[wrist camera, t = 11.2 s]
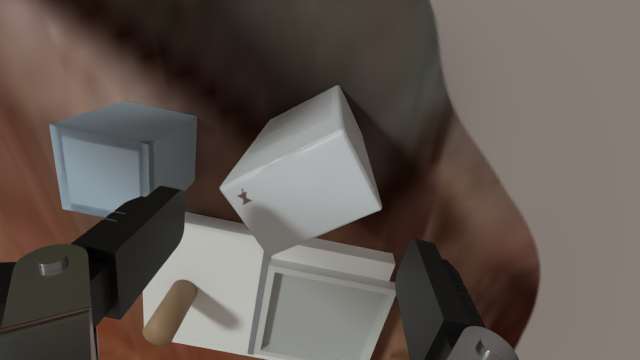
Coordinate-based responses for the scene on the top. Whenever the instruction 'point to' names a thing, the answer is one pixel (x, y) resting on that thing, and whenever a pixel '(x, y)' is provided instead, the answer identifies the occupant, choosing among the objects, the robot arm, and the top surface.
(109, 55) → the top surface
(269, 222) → the skincare box
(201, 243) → the board
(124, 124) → the blue-grey block
